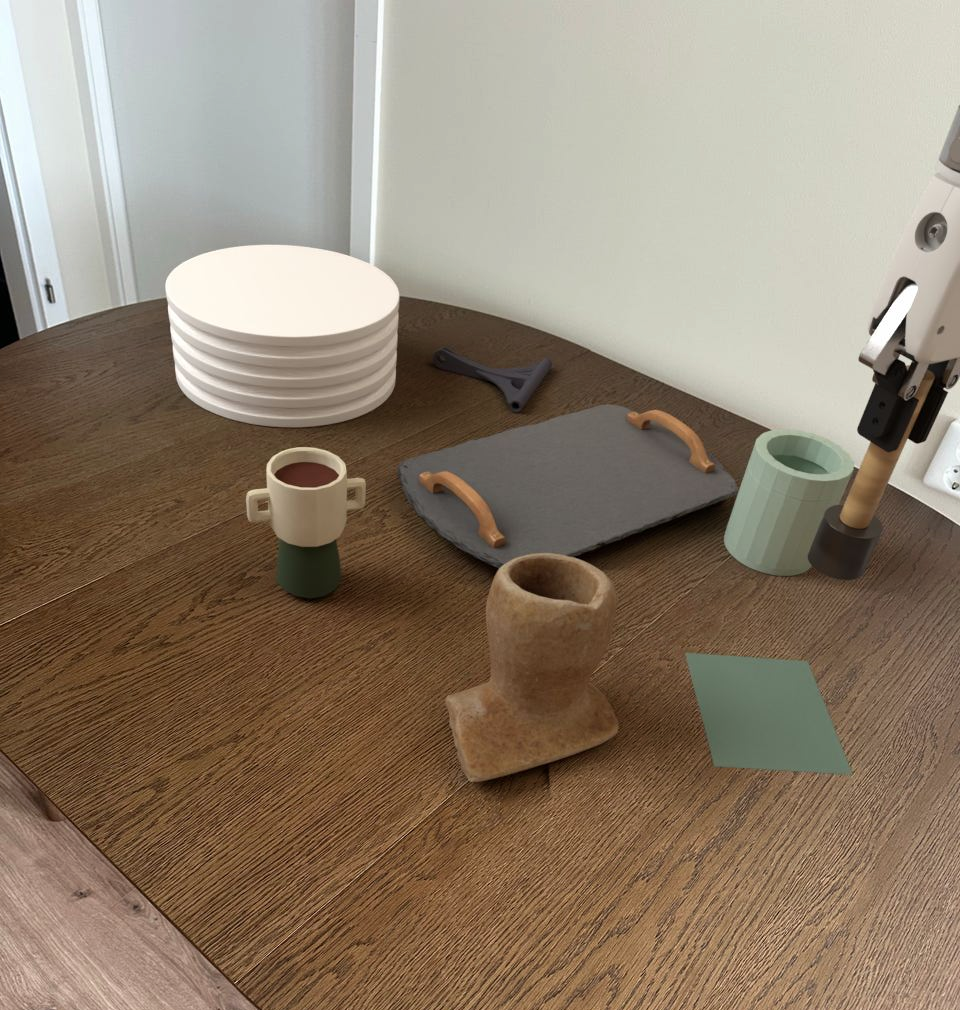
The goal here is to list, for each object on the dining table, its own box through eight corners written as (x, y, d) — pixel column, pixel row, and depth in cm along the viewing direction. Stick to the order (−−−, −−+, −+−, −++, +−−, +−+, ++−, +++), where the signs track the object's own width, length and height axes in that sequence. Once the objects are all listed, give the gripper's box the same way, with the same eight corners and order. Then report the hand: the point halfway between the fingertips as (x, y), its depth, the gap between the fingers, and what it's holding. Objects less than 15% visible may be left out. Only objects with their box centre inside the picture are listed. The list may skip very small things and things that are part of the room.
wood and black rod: (854, 547, 75) (937, 360, 65) (872, 582, 72) (963, 390, 61) (800, 544, 75) (875, 355, 64) (816, 578, 72) (898, 385, 61)
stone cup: (564, 659, 87) (593, 525, 77) (631, 750, 79) (674, 615, 69) (412, 697, 81) (423, 559, 71) (469, 800, 74) (490, 660, 64)
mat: (806, 665, 90) (808, 660, 90) (850, 779, 80) (853, 774, 79) (683, 657, 89) (685, 652, 89) (712, 770, 79) (714, 766, 78)
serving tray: (492, 606, 92) (500, 555, 88) (369, 489, 105) (370, 440, 101) (754, 504, 111) (770, 458, 107) (622, 415, 124) (632, 372, 120)
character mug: (353, 553, 96) (355, 440, 87) (373, 596, 91) (377, 482, 82) (245, 568, 92) (236, 452, 83) (260, 614, 87) (252, 497, 79)
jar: (800, 525, 108) (837, 433, 100) (824, 579, 101) (867, 484, 93) (715, 519, 108) (746, 425, 100) (734, 572, 100) (768, 476, 92)
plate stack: (314, 312, 138) (313, 231, 130) (438, 390, 124) (445, 305, 116) (135, 355, 122) (122, 267, 115) (254, 451, 108) (248, 357, 100)
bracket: (452, 345, 134) (453, 326, 133) (551, 370, 132) (554, 351, 130) (414, 387, 124) (415, 367, 122) (520, 414, 121) (523, 395, 119)
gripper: (981, 185, 48) (852, 490, 60) (1150, 164, 55) (1004, 441, 67) (868, 142, 53) (770, 434, 65) (1038, 128, 60) (920, 394, 72)
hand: (890, 436), depth 66 cm, fingers closed on wood and black rod, 2 cm apart
